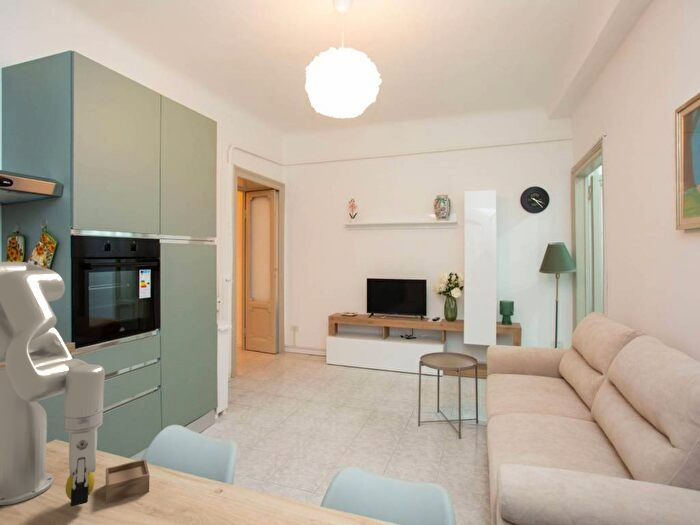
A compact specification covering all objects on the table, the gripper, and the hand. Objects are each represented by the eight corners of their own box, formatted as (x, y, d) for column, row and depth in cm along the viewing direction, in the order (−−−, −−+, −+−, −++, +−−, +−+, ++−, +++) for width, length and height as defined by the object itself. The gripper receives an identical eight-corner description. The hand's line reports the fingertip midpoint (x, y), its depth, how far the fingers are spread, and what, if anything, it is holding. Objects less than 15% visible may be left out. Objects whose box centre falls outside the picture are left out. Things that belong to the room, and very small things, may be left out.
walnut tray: (106, 503, 91) (106, 485, 91) (105, 484, 99) (105, 468, 99) (149, 491, 96) (149, 474, 96) (145, 474, 104) (145, 458, 104)
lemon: (78, 510, 87) (80, 475, 87) (58, 506, 88) (60, 471, 88) (99, 496, 92) (101, 463, 92) (80, 492, 93) (81, 459, 93)
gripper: (103, 431, 85) (99, 512, 85) (102, 404, 99) (98, 474, 99) (60, 438, 81) (56, 524, 81) (66, 409, 95) (62, 481, 95)
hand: (79, 495), depth 90 cm, fingers closed on lemon, 5 cm apart
